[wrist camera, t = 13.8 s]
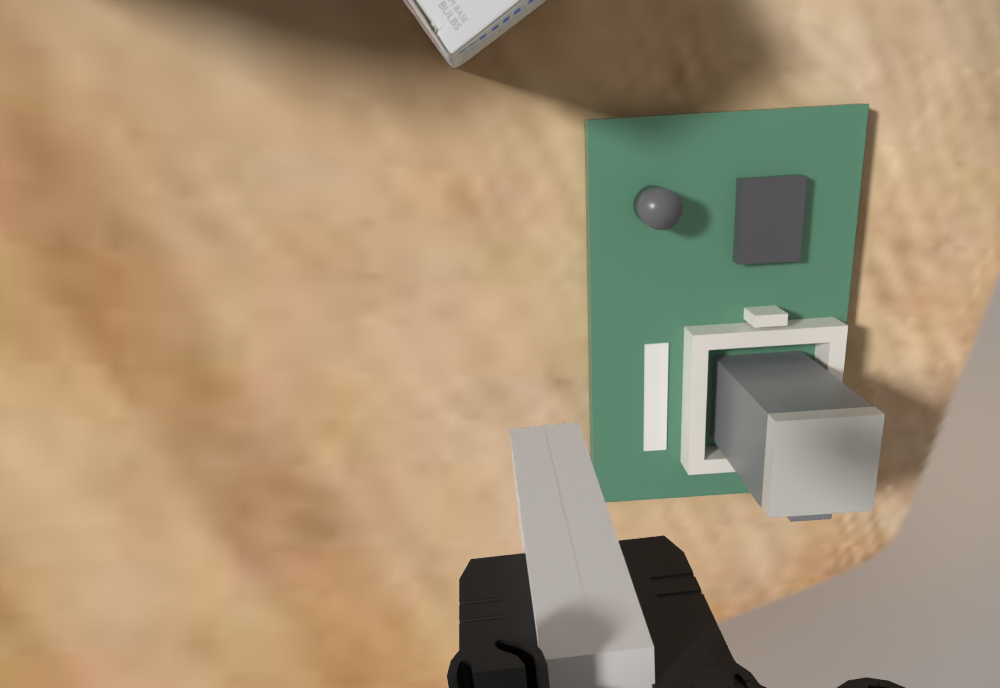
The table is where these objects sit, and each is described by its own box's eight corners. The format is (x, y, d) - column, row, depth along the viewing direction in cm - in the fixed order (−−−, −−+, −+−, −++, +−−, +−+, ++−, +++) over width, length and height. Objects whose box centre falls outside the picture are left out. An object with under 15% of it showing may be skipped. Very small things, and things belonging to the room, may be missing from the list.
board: (584, 119, 34) (594, 121, 31) (858, 103, 34) (893, 103, 31) (591, 493, 40) (600, 523, 37) (821, 478, 41) (847, 506, 38)
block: (713, 355, 37) (775, 421, 29) (800, 350, 37) (885, 414, 29) (709, 449, 39) (767, 534, 31) (792, 443, 39) (870, 526, 31)
